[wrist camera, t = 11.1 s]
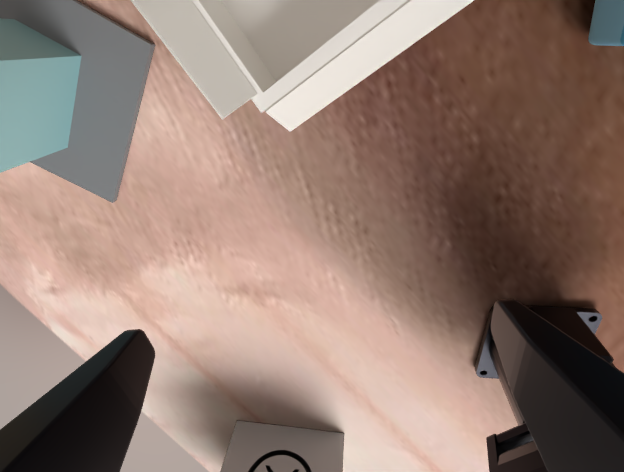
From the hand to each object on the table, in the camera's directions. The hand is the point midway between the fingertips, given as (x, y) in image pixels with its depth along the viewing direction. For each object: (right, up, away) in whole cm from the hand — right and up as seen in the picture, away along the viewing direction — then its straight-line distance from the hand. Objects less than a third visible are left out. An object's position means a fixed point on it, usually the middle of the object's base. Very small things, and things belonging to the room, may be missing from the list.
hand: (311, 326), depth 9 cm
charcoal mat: (-15, +11, +11) cm, 21 cm away
